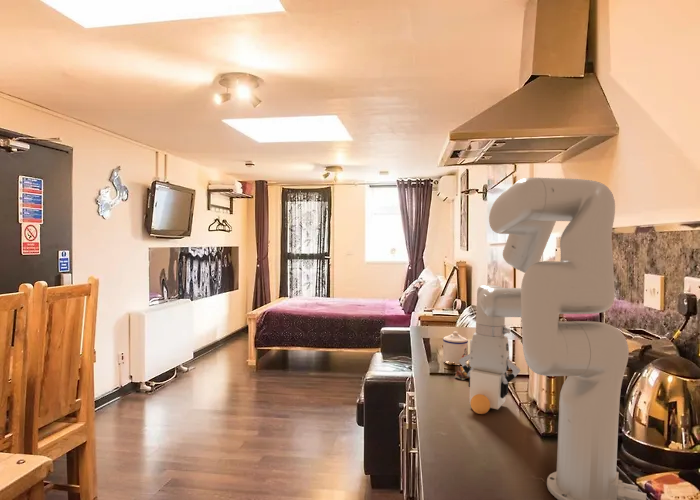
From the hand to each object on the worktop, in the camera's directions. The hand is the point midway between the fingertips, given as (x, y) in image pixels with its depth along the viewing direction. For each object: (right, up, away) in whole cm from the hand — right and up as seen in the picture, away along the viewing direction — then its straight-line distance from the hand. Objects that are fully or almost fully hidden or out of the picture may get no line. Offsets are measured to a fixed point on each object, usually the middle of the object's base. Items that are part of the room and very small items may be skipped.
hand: (487, 393), depth 123 cm
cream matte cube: (0, -3, 0) cm, 3 cm away
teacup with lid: (+1, -3, +44) cm, 44 cm away
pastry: (+1, -4, +28) cm, 28 cm away
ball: (-4, -1, -5) cm, 6 cm away
